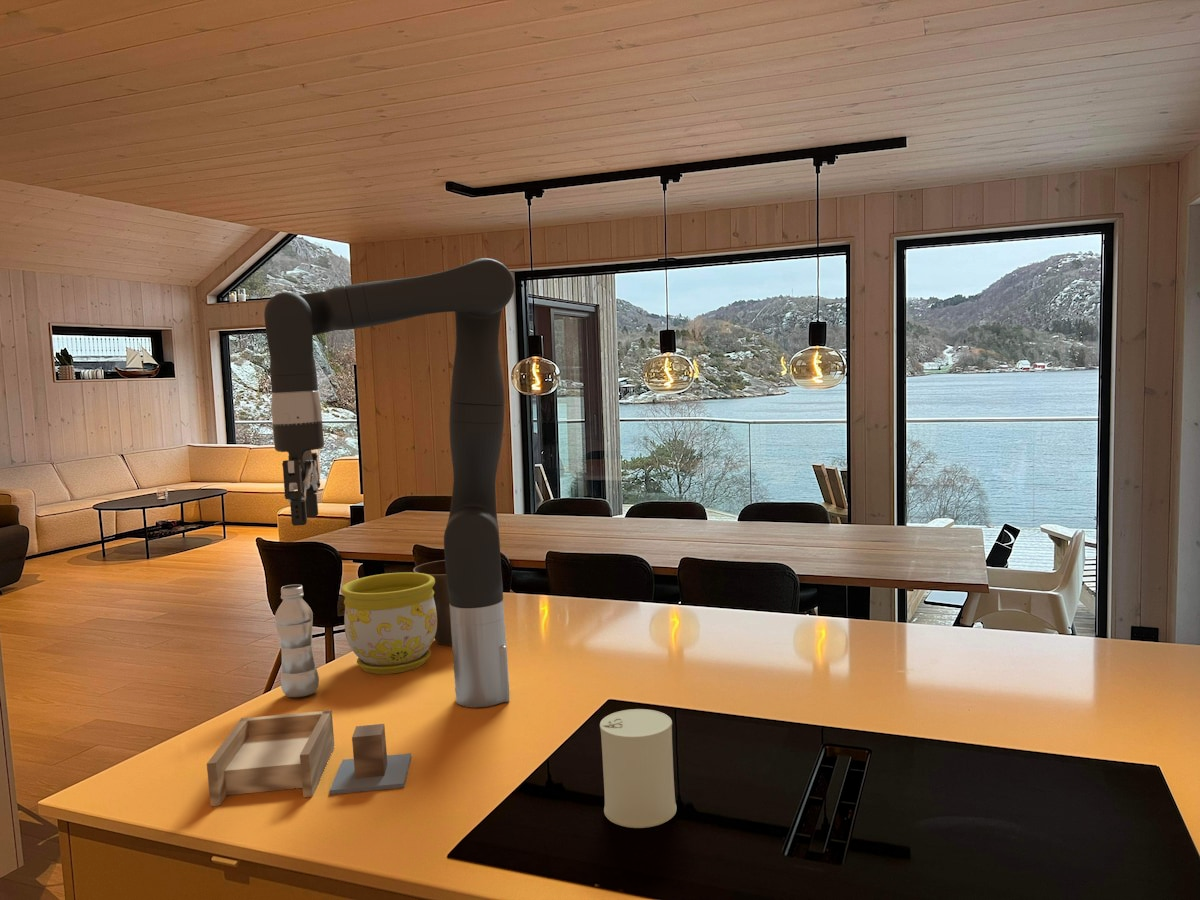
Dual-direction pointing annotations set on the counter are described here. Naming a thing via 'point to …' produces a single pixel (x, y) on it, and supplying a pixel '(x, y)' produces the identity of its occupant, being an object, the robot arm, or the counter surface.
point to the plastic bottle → (296, 643)
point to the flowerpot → (390, 620)
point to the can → (638, 768)
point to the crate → (272, 755)
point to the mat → (390, 780)
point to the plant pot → (439, 599)
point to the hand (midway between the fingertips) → (305, 520)
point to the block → (369, 751)
